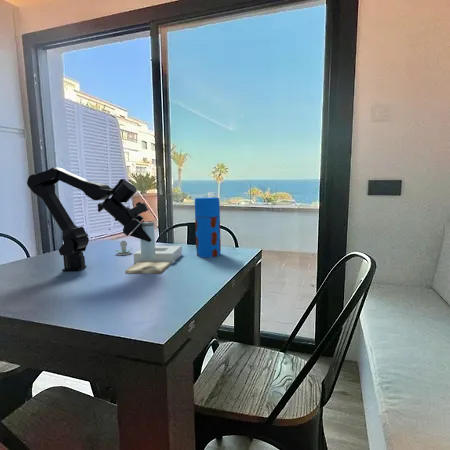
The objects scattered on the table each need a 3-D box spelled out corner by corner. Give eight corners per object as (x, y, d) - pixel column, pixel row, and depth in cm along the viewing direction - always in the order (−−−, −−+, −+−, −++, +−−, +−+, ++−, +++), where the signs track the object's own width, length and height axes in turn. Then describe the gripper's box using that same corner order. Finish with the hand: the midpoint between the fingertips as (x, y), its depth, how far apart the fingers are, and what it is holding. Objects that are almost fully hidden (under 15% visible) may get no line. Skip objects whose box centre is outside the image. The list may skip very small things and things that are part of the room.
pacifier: (132, 255, 148) (132, 252, 153) (131, 242, 147) (131, 239, 152) (115, 256, 146) (116, 253, 152) (114, 243, 145) (115, 240, 151)
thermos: (193, 253, 147) (191, 198, 144) (214, 251, 152) (213, 197, 148) (201, 258, 137) (199, 198, 134) (224, 255, 142) (223, 197, 139)
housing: (133, 263, 131) (133, 253, 131) (147, 254, 147) (146, 245, 147) (172, 263, 130) (172, 253, 129) (182, 254, 146) (181, 245, 145)
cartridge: (139, 258, 120) (137, 223, 118) (144, 255, 125) (142, 222, 123) (152, 258, 119) (151, 223, 118) (157, 255, 125) (155, 221, 123)
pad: (125, 273, 117) (125, 270, 117) (138, 264, 130) (138, 261, 130) (161, 273, 116) (160, 270, 116) (170, 264, 128) (170, 261, 128)
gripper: (131, 195, 109) (165, 227, 113) (136, 194, 128) (166, 221, 131) (108, 220, 109) (143, 250, 112) (117, 215, 127) (147, 241, 131)
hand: (151, 239), depth 122 cm, fingers closed on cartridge, 5 cm apart
